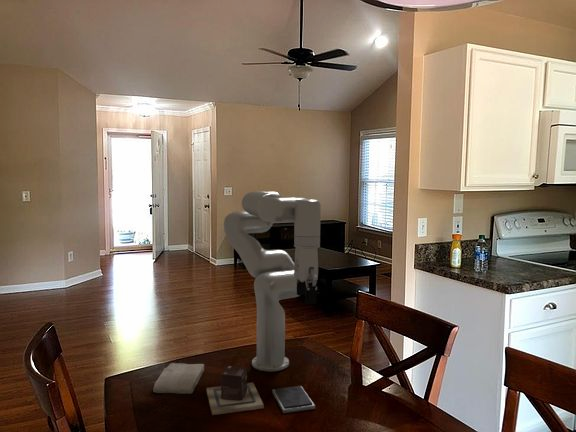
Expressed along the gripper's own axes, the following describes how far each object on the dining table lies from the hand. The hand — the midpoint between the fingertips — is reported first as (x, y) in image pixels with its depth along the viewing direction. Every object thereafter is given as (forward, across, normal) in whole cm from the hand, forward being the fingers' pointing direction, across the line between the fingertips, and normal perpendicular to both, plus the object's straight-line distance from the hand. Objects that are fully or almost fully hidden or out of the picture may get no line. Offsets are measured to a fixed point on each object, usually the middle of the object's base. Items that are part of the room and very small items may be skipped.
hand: (306, 299), depth 133 cm
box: (+27, +2, -21) cm, 34 cm away
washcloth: (+28, -14, -36) cm, 48 cm away
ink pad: (+28, +6, -5) cm, 29 cm away
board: (+28, +2, -22) cm, 35 cm away
